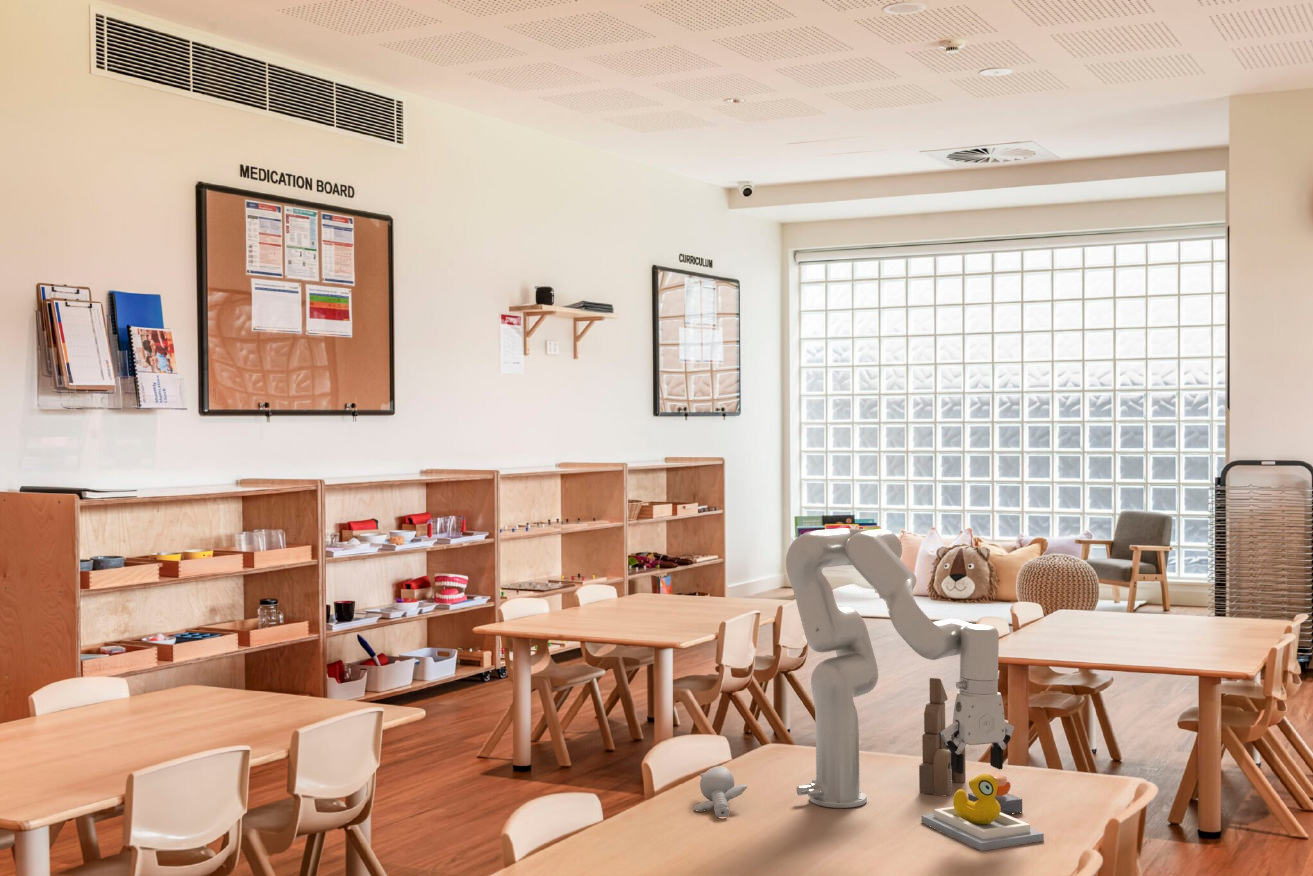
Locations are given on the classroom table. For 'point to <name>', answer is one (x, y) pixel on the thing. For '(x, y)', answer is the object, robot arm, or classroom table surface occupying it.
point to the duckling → (980, 800)
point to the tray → (983, 830)
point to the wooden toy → (937, 747)
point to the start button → (1000, 778)
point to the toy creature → (718, 790)
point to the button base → (1004, 803)
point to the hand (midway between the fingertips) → (976, 769)
